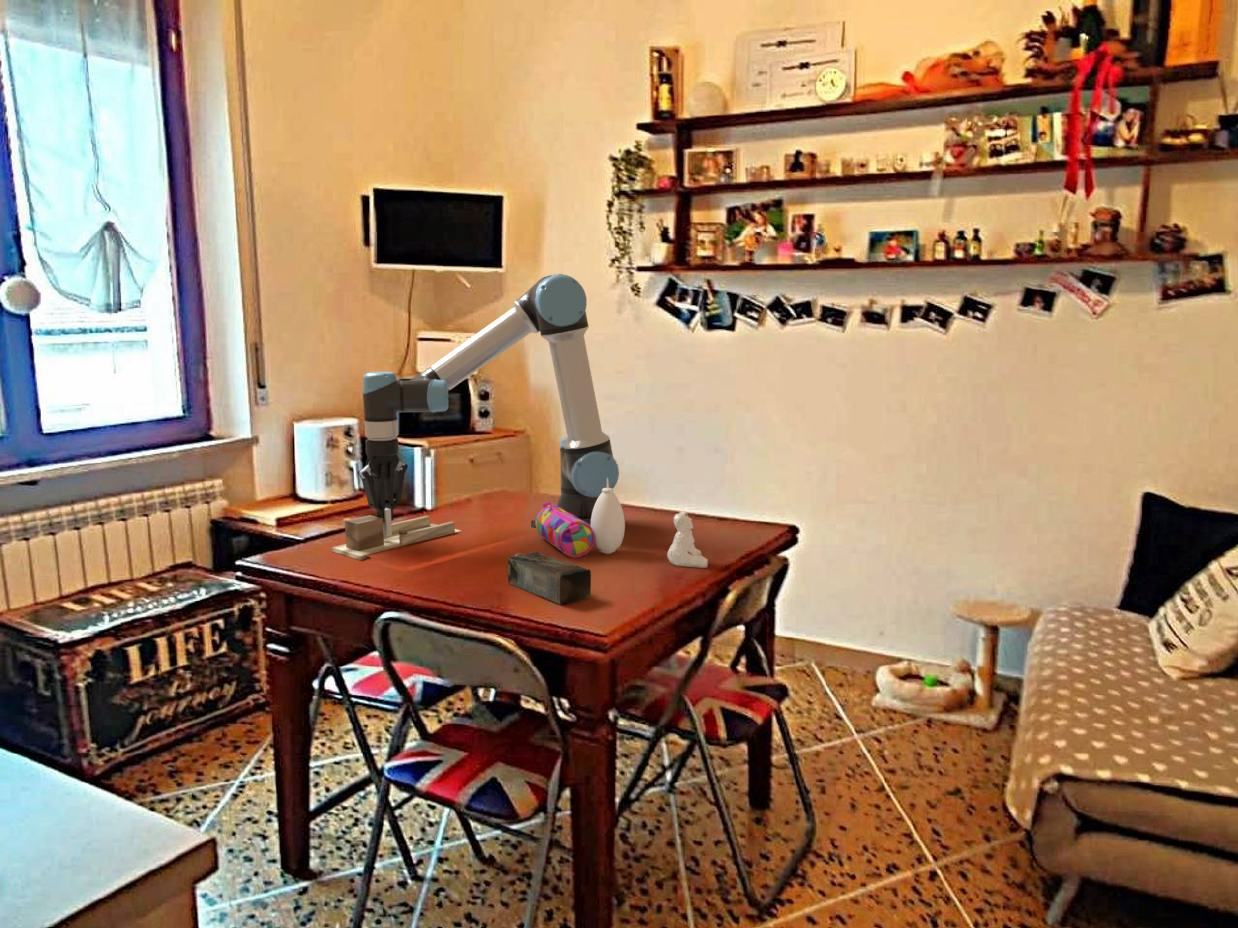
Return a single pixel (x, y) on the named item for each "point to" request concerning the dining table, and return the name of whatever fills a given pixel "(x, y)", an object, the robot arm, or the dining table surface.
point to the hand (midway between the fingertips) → (385, 534)
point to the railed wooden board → (402, 536)
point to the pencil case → (564, 530)
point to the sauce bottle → (608, 521)
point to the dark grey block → (549, 577)
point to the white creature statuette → (685, 544)
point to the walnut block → (364, 532)
